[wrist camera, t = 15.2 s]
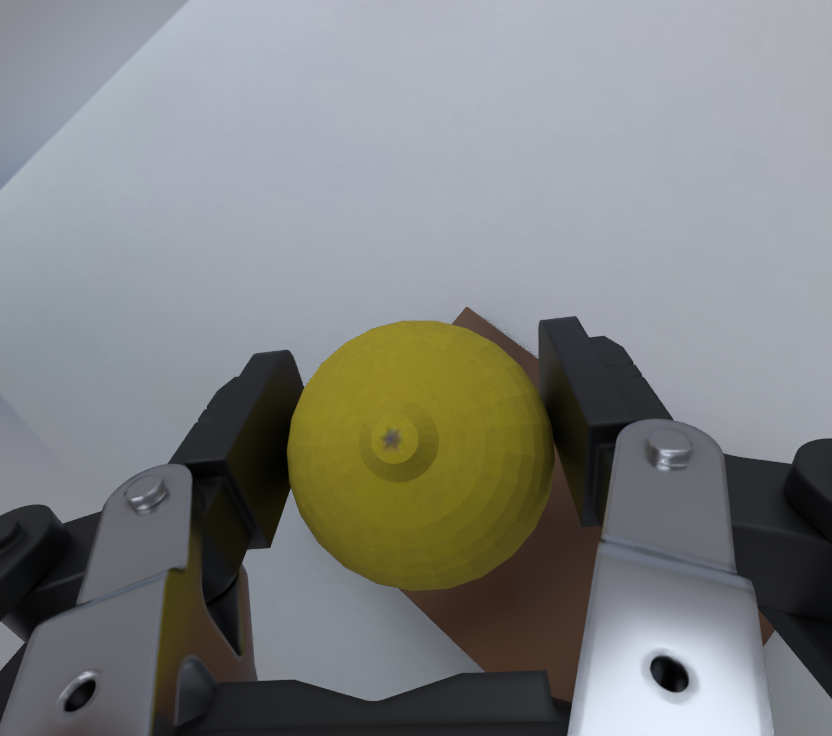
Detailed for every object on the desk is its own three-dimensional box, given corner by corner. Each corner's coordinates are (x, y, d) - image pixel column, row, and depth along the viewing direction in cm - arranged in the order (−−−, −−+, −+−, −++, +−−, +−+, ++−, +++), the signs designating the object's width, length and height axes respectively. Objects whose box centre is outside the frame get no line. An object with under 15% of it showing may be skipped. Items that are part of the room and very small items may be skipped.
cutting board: (316, 497, 23) (305, 499, 22) (467, 315, 24) (466, 305, 22) (627, 793, 19) (639, 821, 17) (795, 559, 20) (820, 567, 18)
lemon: (408, 338, 15) (336, 199, 7) (563, 423, 14) (674, 365, 6) (317, 487, 14) (134, 508, 7) (473, 589, 13) (469, 761, 5)
